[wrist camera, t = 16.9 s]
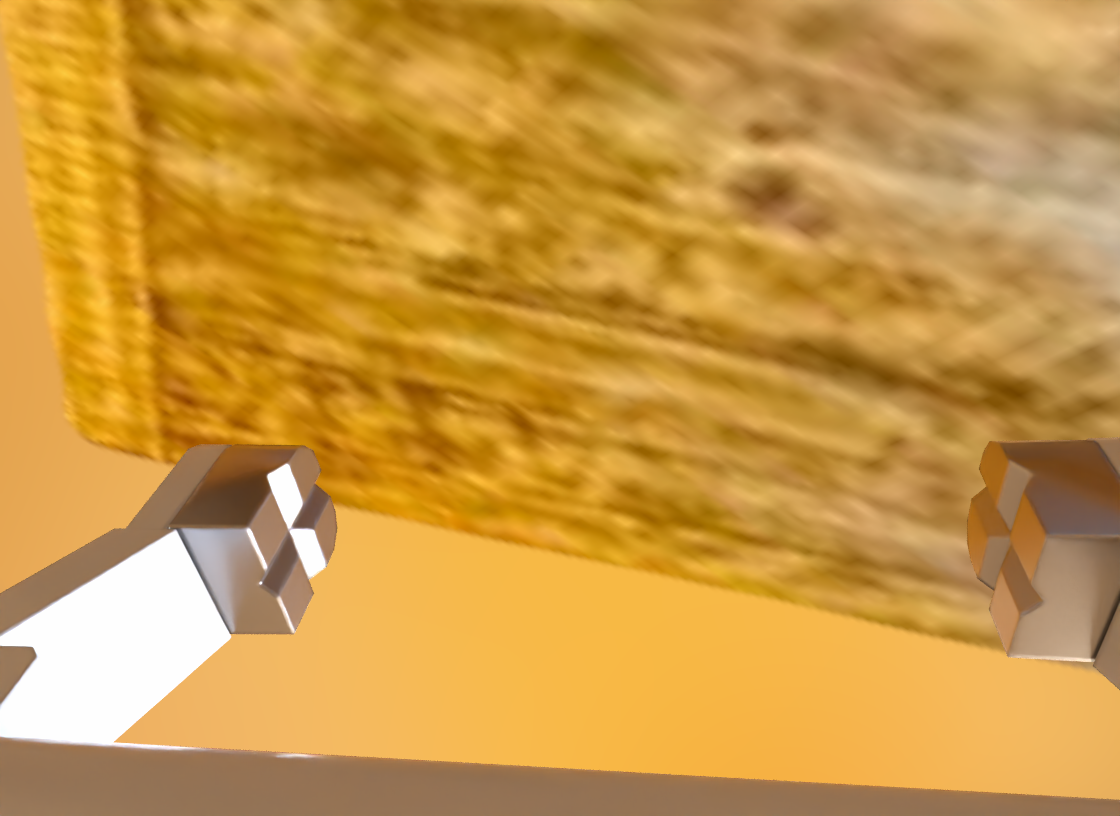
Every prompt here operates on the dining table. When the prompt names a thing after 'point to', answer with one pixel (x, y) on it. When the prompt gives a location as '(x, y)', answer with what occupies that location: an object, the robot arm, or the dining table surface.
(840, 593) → the dining table surface
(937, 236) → the dining table surface
